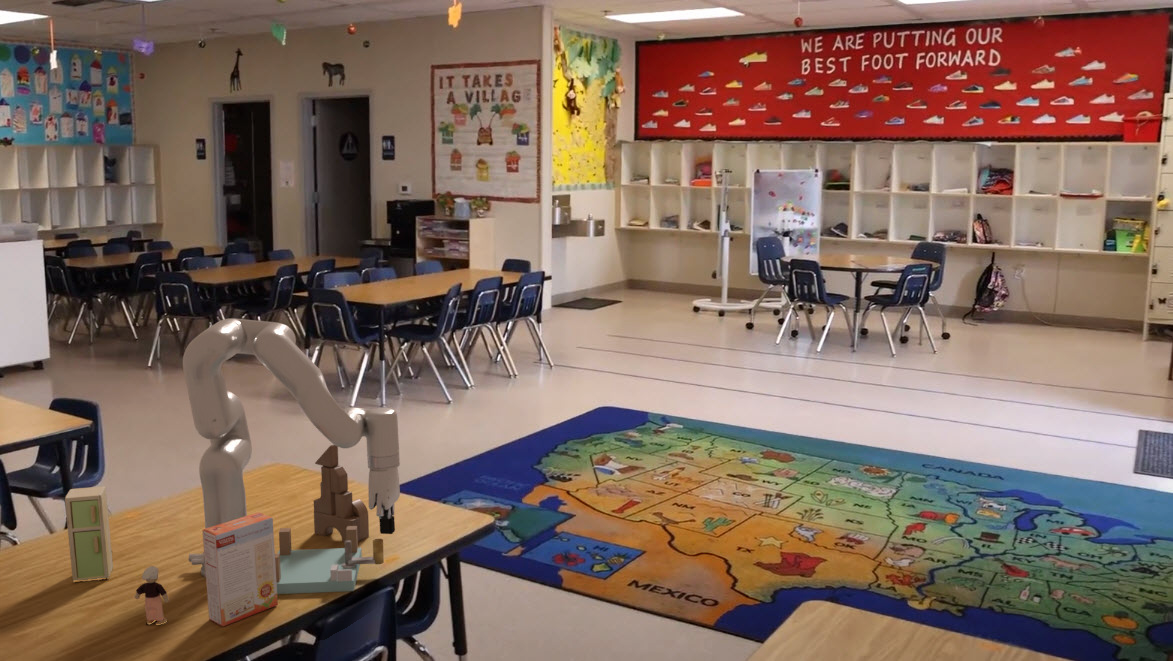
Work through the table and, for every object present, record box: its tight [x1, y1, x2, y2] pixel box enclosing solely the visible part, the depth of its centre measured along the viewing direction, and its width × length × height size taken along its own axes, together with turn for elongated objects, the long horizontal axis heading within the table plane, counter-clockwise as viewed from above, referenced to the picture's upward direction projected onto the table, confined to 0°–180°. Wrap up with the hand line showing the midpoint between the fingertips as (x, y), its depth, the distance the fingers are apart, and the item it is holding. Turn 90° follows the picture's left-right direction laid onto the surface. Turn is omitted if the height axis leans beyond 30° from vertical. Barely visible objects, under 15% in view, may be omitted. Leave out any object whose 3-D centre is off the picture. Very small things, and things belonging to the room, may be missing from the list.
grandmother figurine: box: [134, 565, 170, 624], centre depth 226 cm, size 8×4×13 cm, turn 92°
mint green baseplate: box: [275, 526, 363, 595], centre depth 252 cm, size 20×20×8 cm
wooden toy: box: [313, 444, 370, 543], centre depth 276 cm, size 16×7×25 cm, turn 58°
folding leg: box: [343, 538, 384, 565], centre depth 252 cm, size 9×2×6 cm, turn 97°
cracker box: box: [202, 511, 279, 627], centre depth 231 cm, size 14×6×21 cm, turn 140°
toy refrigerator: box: [64, 486, 114, 582], centre depth 248 cm, size 8×7×21 cm
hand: (387, 532), depth 257 cm, fingers closed
